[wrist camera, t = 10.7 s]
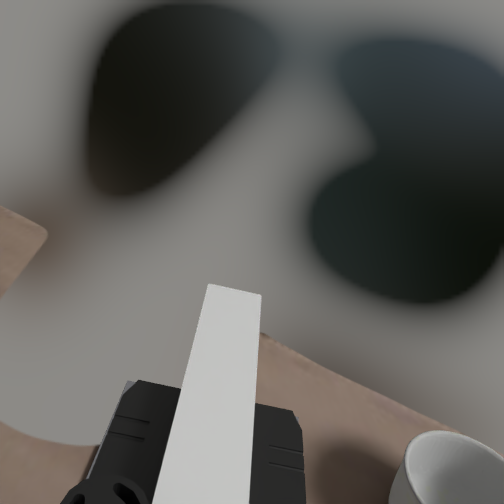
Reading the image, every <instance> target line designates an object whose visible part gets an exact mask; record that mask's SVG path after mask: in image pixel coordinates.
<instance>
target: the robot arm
mask: <svg viewBox="0 0 504 504" xmlns="http://www.w3.org/2000/svg"><path fill="white" fill-rule="evenodd" d="M260 310H261V295H258V294H254V293H249V292H244V291H240V290H236V289H231V288H227V287H222V286H218V285H214V284H208V287H207V291H206V295H205V299H204V303H203V307H202V311H201V315H200V319H199V323H198V326H197V330H196V335H195V338H194V342H193V346H192V350H191V354H190V358H189V362H188V365H187V370H186V373H185V377H184V381H183V385H182V389H179V388H175V387H170V386H165V385H160V384H155V383H151V382H146V381H141V380H138V381H137V382H136V383H135V384H134V385H132V386H131V387H130V388H129V389H128V390H127V391H126V392H125V393H124V394H123V395H122V397H121V400H120V402H119V405H118V407H117V410H116V412H115V415H114V418H113V419H112V422H111V424H110V427H109V429H108V432H107V435H106V437H105V439H104V442H103V444H102V446H101V449H100V451H99V454H98V456H97V459H96V461H95V464H94V466H93V469H92V471H91V474H90V476H89V478H88V479H85V480H83V481H82V482H80V483H79V484H78V485H76V486H75V487H73V488H72V489H71V490H69V492H68V493H67V495H66V496H65V497H64V499H63V500H62V502H61V503H60V504H306V491H305V474H304V456H303V438H302V430H301V427H300V425H299V423H298V421H297V419H296V417H295V415H294V413H293V411H291V410H286V409H281V408H276V407H272V406H267V405H262V404H257V403H255V393H256V377H257V360H258V343H259V326H260Z"/></svg>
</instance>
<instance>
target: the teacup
mask: <svg viewBox="0 0 504 504" xmlns="http://www.w3.org/2000/svg"><path fill="white" fill-rule="evenodd" d="M388 504H504V458H503V457H501V456H500V455H499V454H498V453H496V452H495V451H494V450H492V449H491V448H489V447H488V446H486V445H484V444H482V443H480V442H479V441H476V440H474V439H472V438H469V437H467V436H464V435H461V434H458V433H454V432H448V431H443V430H435V431H427V432H424V433H421V434H419V435H417V436H416V437H414V438H413V439H412V440H411V441H410V443H409V444H408V446H407V448H406V450H405V454H404V459H403V461H402V463H401V465H400V467H399V469H398V471H397V474H396V476H395V479H394V481H393V484H392V487H391V490H390V494H389V503H388Z"/></svg>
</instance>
